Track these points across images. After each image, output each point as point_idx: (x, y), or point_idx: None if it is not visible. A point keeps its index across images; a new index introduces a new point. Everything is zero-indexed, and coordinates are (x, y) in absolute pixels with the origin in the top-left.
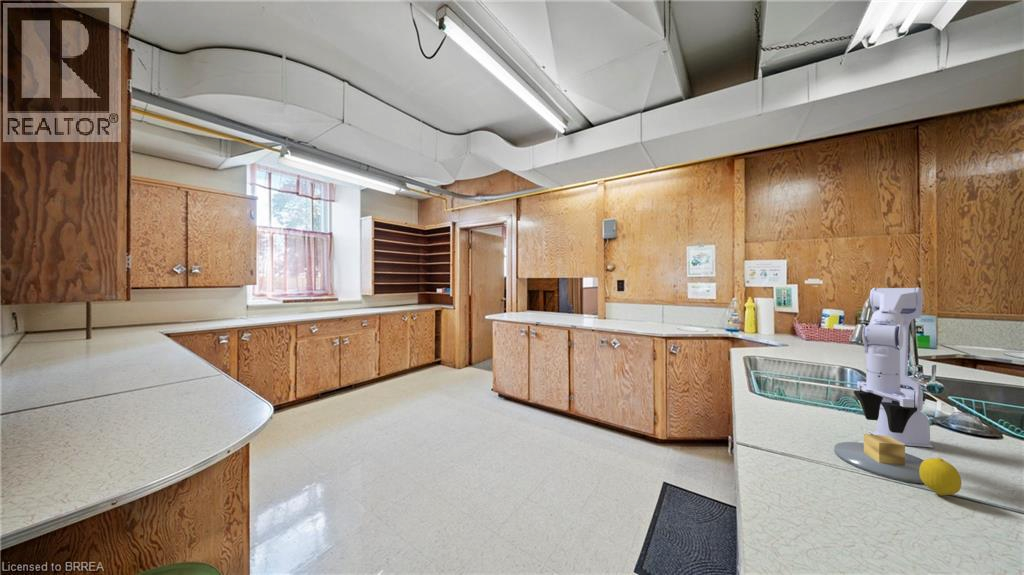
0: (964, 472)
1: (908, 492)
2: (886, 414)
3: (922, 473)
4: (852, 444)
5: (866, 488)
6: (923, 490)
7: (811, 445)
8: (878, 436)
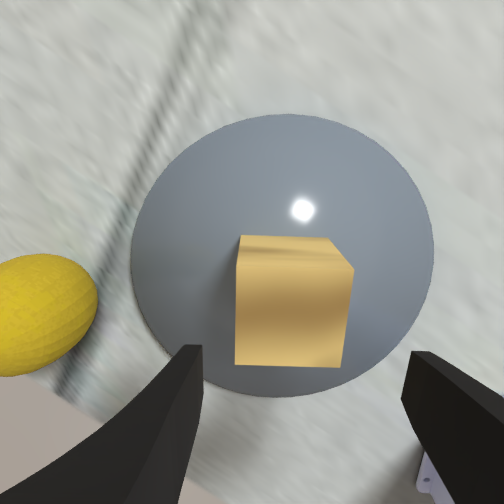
0: (259, 445)
1: (57, 193)
2: (159, 432)
3: (21, 261)
4: (407, 245)
5: (24, 43)
6: (93, 253)
7: (420, 58)
8: (326, 320)
